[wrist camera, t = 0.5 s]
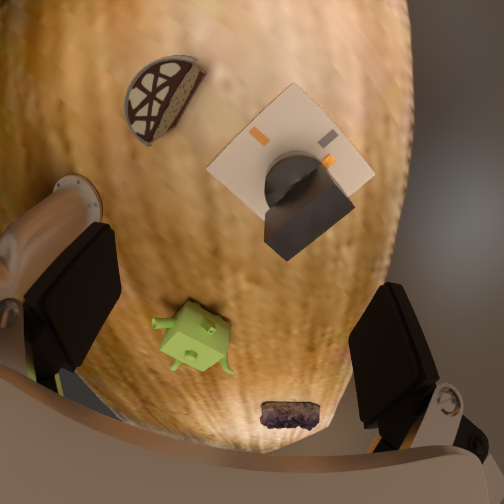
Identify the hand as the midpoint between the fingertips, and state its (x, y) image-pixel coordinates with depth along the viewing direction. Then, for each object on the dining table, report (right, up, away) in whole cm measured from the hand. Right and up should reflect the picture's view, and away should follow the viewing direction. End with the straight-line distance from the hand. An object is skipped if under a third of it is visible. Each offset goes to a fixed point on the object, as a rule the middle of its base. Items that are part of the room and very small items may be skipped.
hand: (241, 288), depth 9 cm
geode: (+13, -51, +72) cm, 89 cm away
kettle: (-11, -14, +49) cm, 52 cm away
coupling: (+6, +10, +24) cm, 27 cm away
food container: (-11, +24, +25) cm, 36 cm away
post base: (+6, +14, +30) cm, 34 cm away
